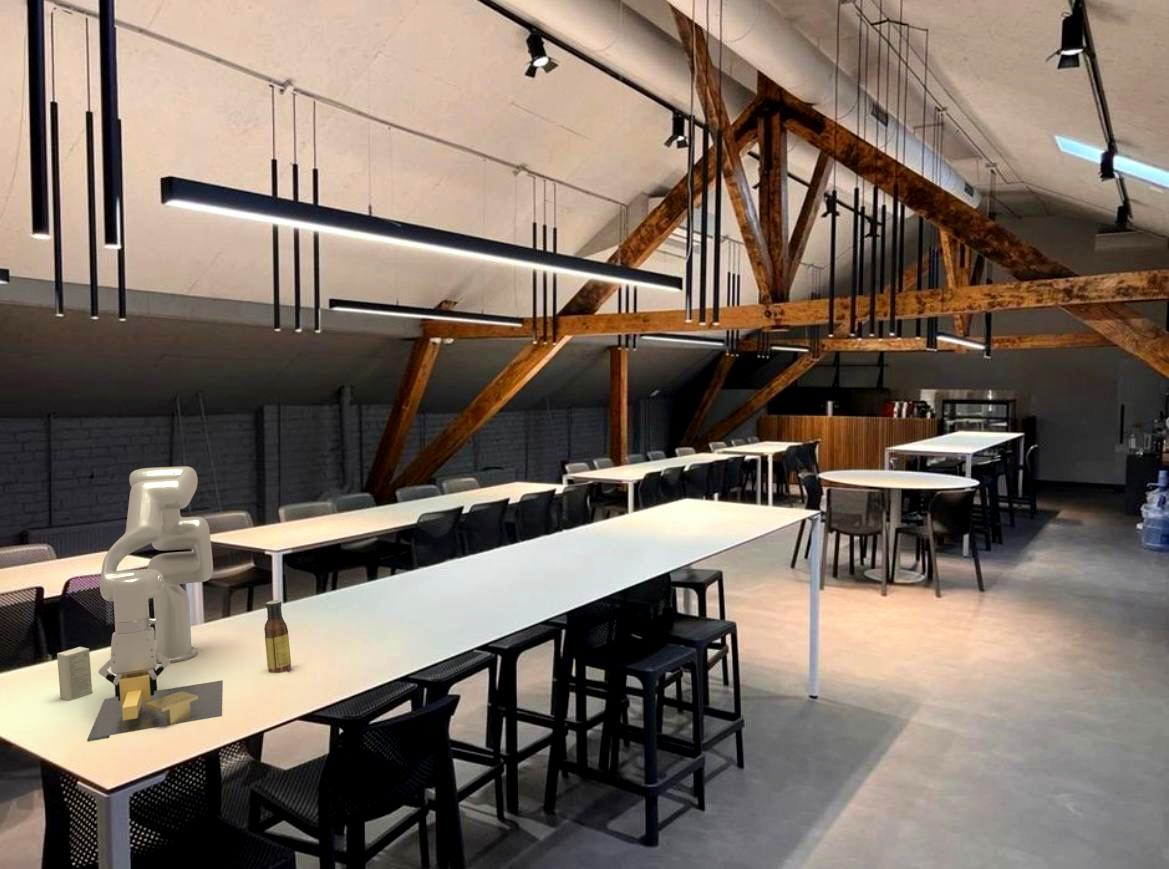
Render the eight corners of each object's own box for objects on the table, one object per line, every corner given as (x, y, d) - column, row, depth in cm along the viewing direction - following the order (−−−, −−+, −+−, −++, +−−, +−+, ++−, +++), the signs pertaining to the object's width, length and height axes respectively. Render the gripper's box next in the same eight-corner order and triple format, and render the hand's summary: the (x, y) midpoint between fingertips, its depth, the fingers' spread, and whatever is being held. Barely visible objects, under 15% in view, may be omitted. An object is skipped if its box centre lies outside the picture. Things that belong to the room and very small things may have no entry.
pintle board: (104, 700, 210) (103, 678, 210) (222, 682, 221) (221, 661, 221) (86, 743, 183) (85, 718, 183) (222, 719, 194) (220, 696, 194)
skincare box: (83, 690, 218) (80, 646, 217) (93, 693, 216) (90, 648, 215) (59, 698, 212) (56, 653, 212) (68, 701, 210) (65, 655, 210)
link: (123, 696, 204) (122, 673, 204) (152, 692, 207) (151, 669, 207) (114, 721, 188) (112, 696, 188) (145, 716, 190) (144, 691, 190)
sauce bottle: (294, 666, 232) (290, 598, 231) (287, 674, 226) (283, 603, 225) (271, 667, 232) (267, 599, 231) (263, 675, 225) (259, 604, 224)
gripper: (172, 617, 209) (176, 685, 210) (94, 627, 202) (99, 697, 203) (170, 624, 202) (174, 695, 203) (90, 634, 195) (94, 707, 196)
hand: (136, 695), depth 203 cm, fingers closed on link, 6 cm apart
